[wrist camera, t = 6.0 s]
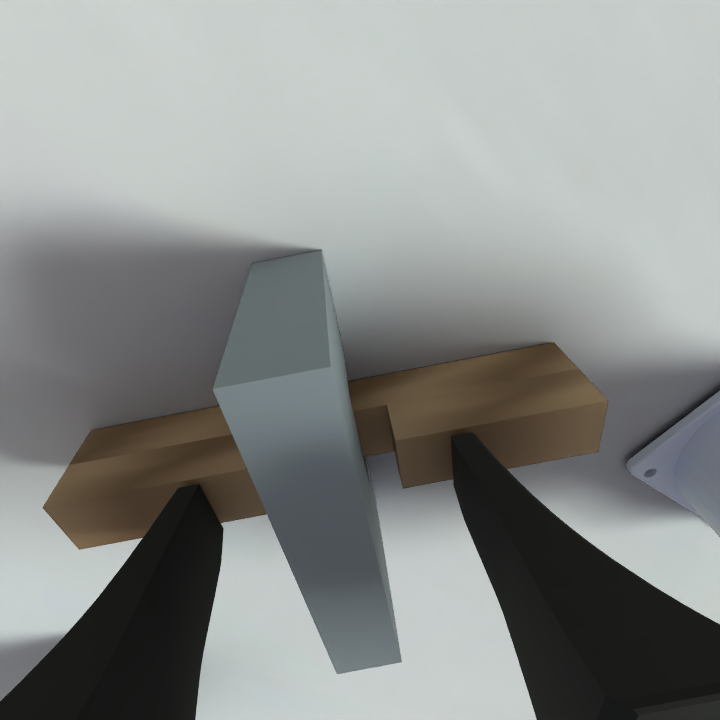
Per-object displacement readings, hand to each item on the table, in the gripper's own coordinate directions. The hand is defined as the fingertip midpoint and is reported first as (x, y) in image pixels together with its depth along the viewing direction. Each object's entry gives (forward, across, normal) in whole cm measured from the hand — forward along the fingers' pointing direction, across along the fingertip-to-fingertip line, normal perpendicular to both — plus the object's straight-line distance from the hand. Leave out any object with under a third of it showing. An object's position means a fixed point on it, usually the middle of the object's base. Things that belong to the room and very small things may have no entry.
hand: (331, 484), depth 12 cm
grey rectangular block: (+3, 0, 0) cm, 3 cm away
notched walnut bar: (+3, 0, 0) cm, 3 cm away
